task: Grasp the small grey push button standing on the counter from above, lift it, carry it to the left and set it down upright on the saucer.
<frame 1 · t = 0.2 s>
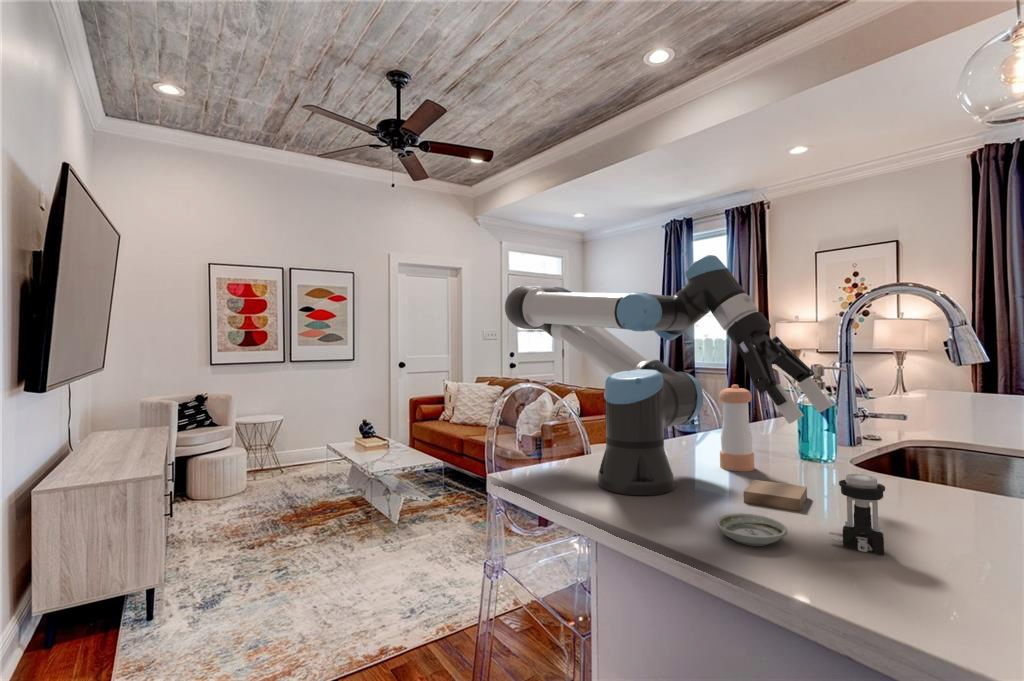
hand: (812, 414, 92), 16 cm above the counter, tool tilted 35°, fingers open, 13 cm apart
pepper shaker: (737, 468, 117), on the counter
wooden block: (775, 499, 93), on the counter
saucer: (750, 541, 75), on the counter
push button: (857, 549, 71), on the counter
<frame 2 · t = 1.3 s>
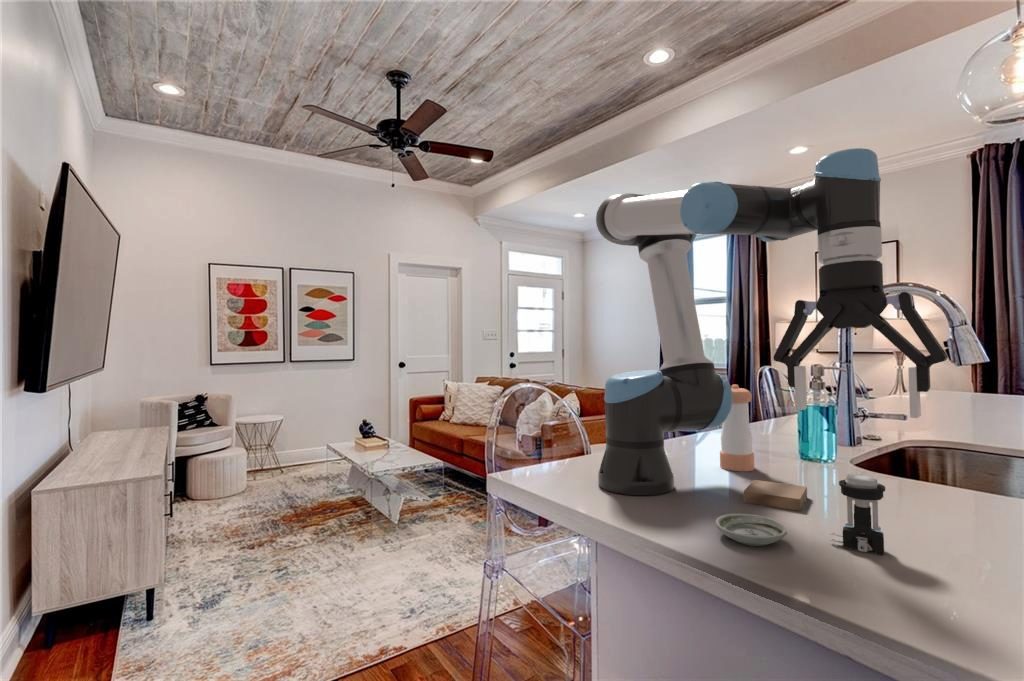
hand: (854, 413, 72), 19 cm above the counter, tool pointing down, fingers open, 13 cm apart
nothing on the counter moved.
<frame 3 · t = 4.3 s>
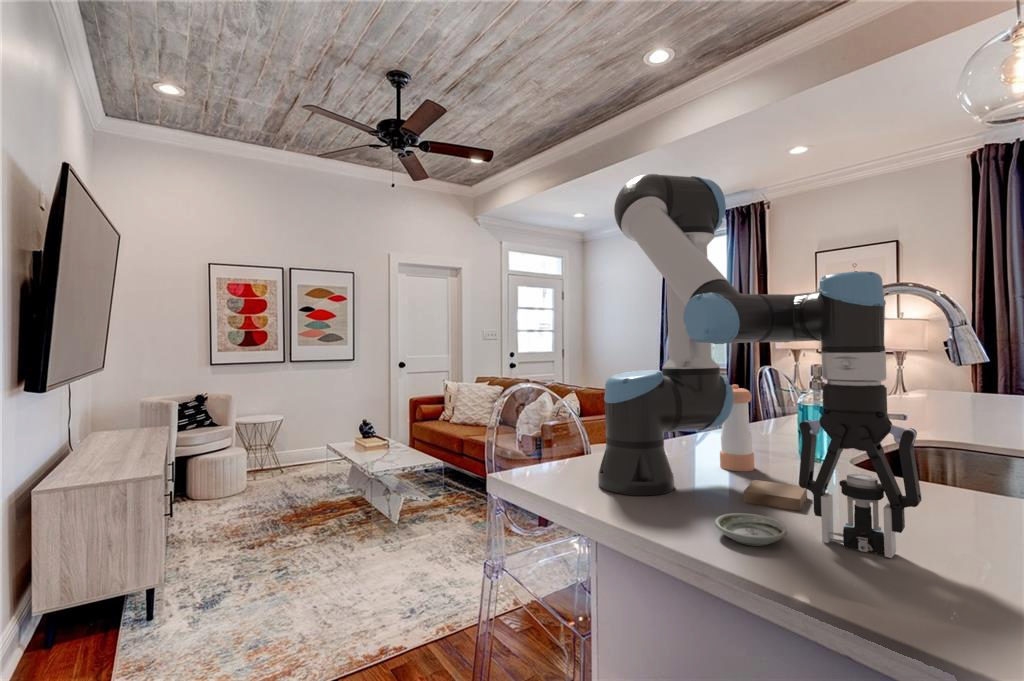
hand: (858, 546, 71), 0 cm above the counter, tool pointing down, fingers closed on push button, 7 cm apart
push button: (858, 549, 71), on the counter, touching gripper
everything else where it was.
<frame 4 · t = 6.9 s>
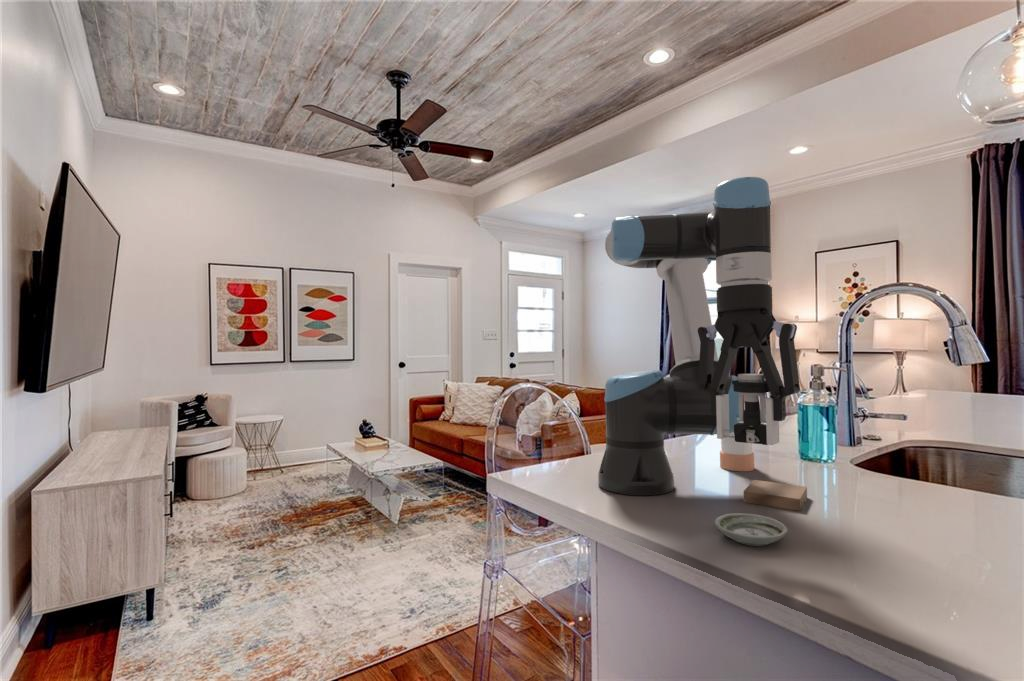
hand: (747, 440, 75), 15 cm above the counter, tool pointing down, fingers closed on push button, 6 cm apart
push button: (747, 443, 75), point 14 cm above the counter, touching gripper
everything else where it was.
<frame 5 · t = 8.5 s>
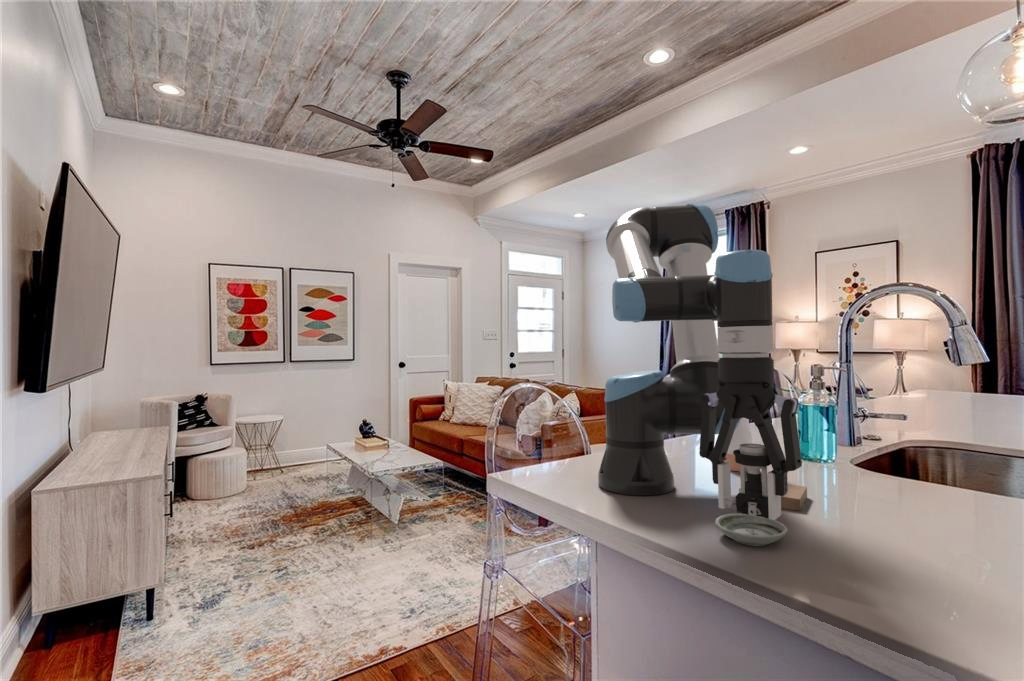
hand: (749, 511, 75), 4 cm above the counter, tool pointing down, fingers closed on push button, 6 cm apart
push button: (749, 514, 75), point 4 cm above the counter, touching gripper
everything else where it was.
when the fingers open (3 cm above the counter, at t = 9.6 s): push button stays where it is, point 2 cm above the counter.
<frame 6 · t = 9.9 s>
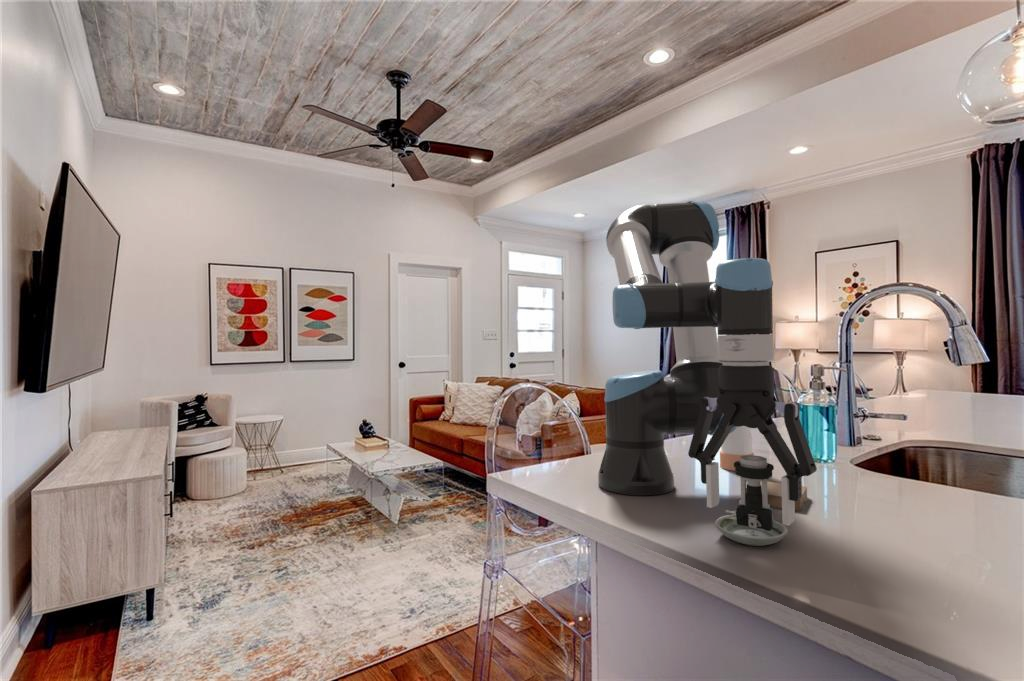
hand: (749, 513, 75), 4 cm above the counter, tool pointing down, fingers open, 10 cm apart
push button: (749, 526, 75), point 2 cm above the counter
everything else where it was.
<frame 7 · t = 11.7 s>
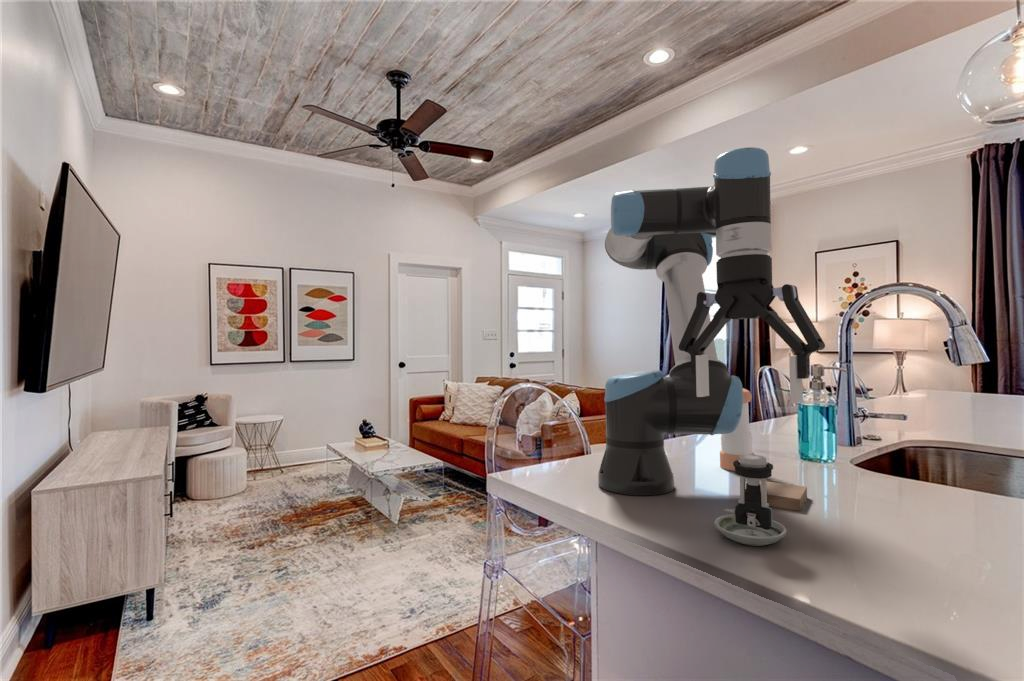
hand: (746, 399, 75), 21 cm above the counter, tool pointing down, fingers open, 13 cm apart
saucer: (749, 542, 75), on the counter, touching push button
push button: (748, 524, 76), point 2 cm above the counter, touching saucer
everything else where it was.
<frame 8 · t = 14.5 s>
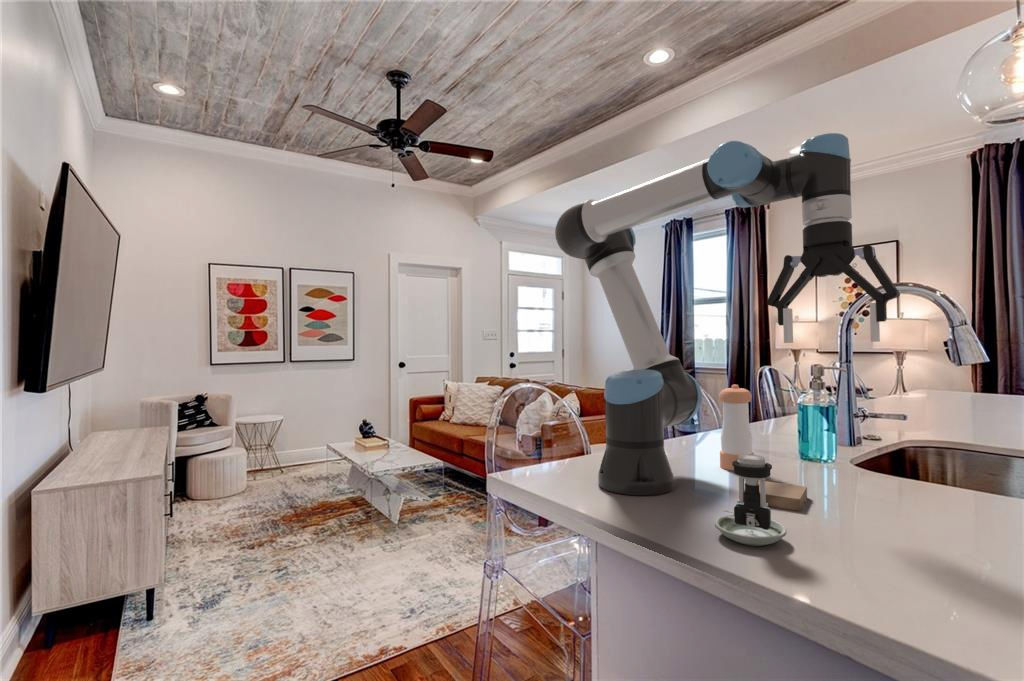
hand: (829, 342, 91), 29 cm above the counter, tool pointing down, fingers open, 13 cm apart
nothing on the counter moved.
at the end: push button 0.3 cm from the saucer (horizontally); push button touching saucer; push button tilted 0° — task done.
